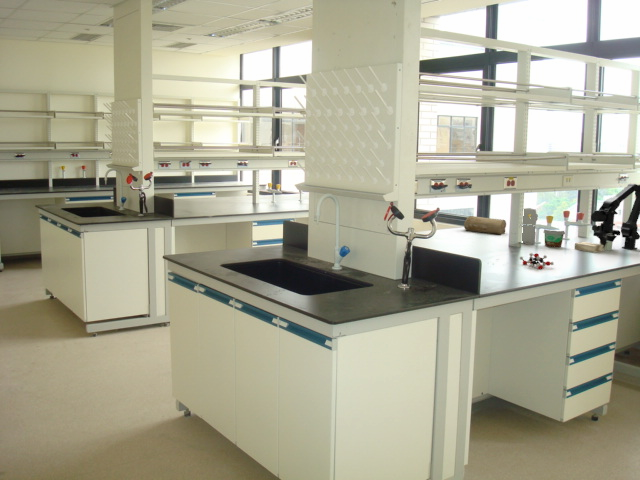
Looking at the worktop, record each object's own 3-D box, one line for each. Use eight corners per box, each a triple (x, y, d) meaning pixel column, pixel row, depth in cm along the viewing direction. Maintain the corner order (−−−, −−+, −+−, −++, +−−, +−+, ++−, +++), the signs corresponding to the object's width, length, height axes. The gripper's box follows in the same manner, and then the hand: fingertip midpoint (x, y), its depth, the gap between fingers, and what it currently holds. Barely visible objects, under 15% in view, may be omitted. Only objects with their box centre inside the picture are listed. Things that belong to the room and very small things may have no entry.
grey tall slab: (535, 243, 377) (539, 208, 374) (534, 244, 374) (537, 209, 370) (518, 242, 382) (521, 207, 379) (516, 242, 379) (519, 207, 375)
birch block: (584, 248, 368) (585, 241, 367) (603, 251, 358) (603, 244, 357) (574, 249, 362) (575, 243, 362) (593, 253, 353) (593, 246, 352)
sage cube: (603, 248, 368) (604, 240, 367) (611, 249, 363) (612, 241, 363) (599, 248, 365) (599, 240, 364) (606, 250, 361) (607, 241, 360)
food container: (540, 246, 368) (542, 230, 367) (542, 244, 374) (543, 228, 372) (562, 248, 363) (564, 231, 361) (563, 247, 368) (565, 230, 366)
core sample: (500, 235, 408) (501, 220, 407) (463, 231, 424) (464, 216, 422) (507, 233, 420) (508, 218, 418) (471, 229, 435) (472, 215, 433)
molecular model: (545, 263, 315) (560, 263, 300) (525, 276, 314) (539, 276, 299) (535, 246, 315) (549, 245, 300) (515, 259, 313) (528, 258, 299)
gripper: (604, 219, 373) (602, 244, 376) (586, 220, 363) (583, 246, 366) (622, 221, 364) (619, 247, 366) (603, 223, 354) (601, 249, 356)
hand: (605, 247), depth 364 cm, fingers closed on sage cube, 5 cm apart
